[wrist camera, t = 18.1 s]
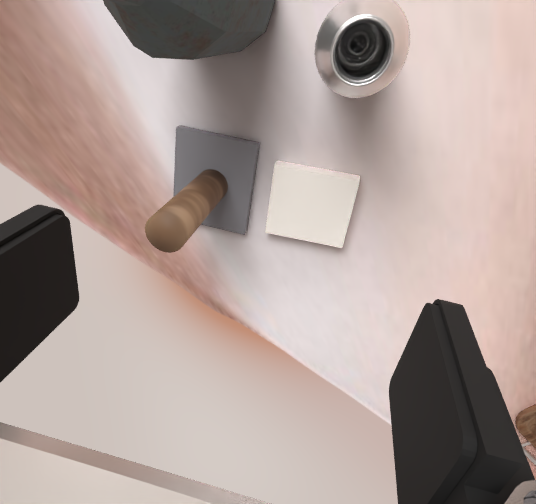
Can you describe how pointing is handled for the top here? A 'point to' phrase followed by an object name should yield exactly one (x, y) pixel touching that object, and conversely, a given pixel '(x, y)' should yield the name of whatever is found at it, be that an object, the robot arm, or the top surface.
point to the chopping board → (528, 429)
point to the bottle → (191, 25)
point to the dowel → (186, 211)
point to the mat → (227, 163)
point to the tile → (311, 203)
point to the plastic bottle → (362, 46)
